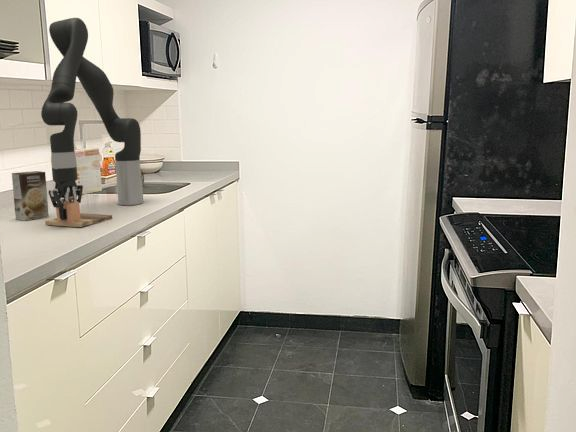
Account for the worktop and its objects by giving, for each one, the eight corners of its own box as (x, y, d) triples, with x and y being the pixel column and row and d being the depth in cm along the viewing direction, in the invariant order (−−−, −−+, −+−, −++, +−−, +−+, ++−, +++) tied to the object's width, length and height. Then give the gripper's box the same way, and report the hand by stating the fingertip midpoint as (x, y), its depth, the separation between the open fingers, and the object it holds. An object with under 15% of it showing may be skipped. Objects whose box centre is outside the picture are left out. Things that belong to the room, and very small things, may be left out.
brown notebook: (78, 216, 207) (78, 212, 207) (112, 218, 202) (112, 214, 202) (59, 221, 198) (58, 218, 198) (93, 224, 193) (93, 220, 193)
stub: (58, 221, 198) (56, 200, 196) (92, 223, 193) (91, 201, 192) (45, 224, 192) (43, 203, 191) (80, 227, 187) (78, 204, 186)
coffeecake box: (91, 190, 272) (88, 147, 268) (102, 191, 268) (99, 148, 265) (65, 194, 259) (61, 150, 255) (77, 195, 255) (73, 150, 252)
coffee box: (24, 221, 200) (19, 174, 197) (15, 219, 204) (10, 173, 201) (49, 217, 207) (45, 171, 204) (40, 215, 211) (36, 170, 208)
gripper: (69, 163, 197) (74, 214, 200) (38, 168, 184) (43, 222, 187) (88, 164, 194) (92, 215, 197) (58, 168, 181) (62, 223, 184)
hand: (68, 218), depth 192 cm, fingers closed on stub, 4 cm apart
